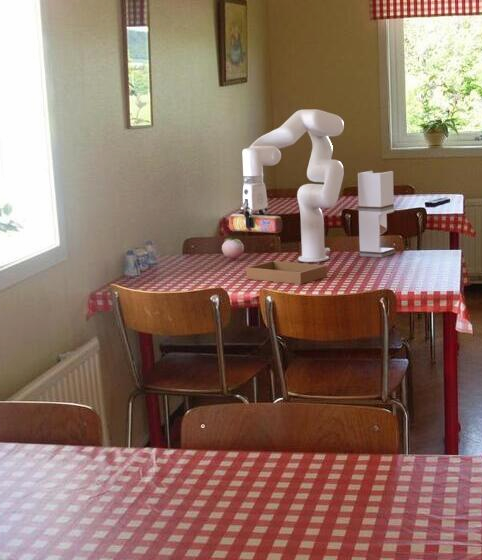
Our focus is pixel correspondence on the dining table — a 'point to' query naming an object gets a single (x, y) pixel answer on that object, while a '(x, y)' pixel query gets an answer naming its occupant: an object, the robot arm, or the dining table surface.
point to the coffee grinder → (374, 211)
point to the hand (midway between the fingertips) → (255, 226)
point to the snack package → (256, 223)
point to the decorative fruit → (232, 248)
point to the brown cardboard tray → (286, 272)
